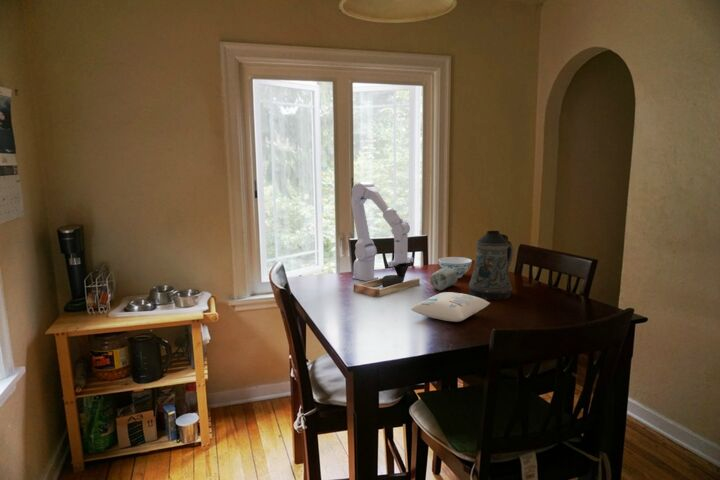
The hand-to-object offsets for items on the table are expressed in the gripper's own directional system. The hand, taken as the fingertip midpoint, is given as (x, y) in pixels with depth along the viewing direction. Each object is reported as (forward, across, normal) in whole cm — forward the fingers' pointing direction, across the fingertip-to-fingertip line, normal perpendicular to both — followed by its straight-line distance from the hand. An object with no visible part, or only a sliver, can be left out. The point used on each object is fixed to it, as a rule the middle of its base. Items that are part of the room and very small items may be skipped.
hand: (401, 280), depth 199 cm
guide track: (+1, -10, 0) cm, 10 cm away
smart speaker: (+2, -6, 0) cm, 6 cm away
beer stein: (+2, +11, -37) cm, 39 cm away
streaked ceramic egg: (+2, +6, -18) cm, 19 cm away
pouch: (+2, -24, -42) cm, 48 cm away
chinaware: (+2, +26, -10) cm, 28 cm away
